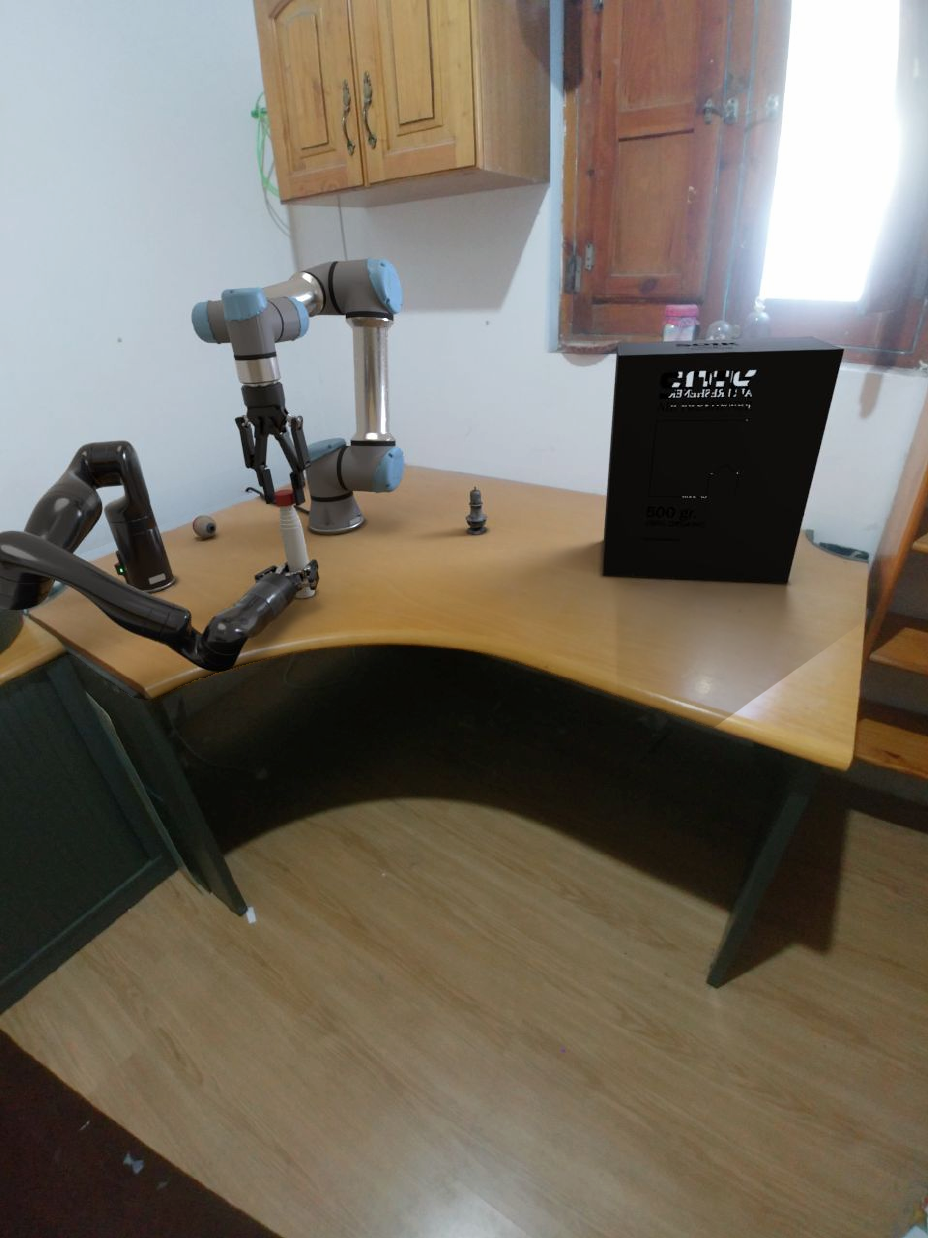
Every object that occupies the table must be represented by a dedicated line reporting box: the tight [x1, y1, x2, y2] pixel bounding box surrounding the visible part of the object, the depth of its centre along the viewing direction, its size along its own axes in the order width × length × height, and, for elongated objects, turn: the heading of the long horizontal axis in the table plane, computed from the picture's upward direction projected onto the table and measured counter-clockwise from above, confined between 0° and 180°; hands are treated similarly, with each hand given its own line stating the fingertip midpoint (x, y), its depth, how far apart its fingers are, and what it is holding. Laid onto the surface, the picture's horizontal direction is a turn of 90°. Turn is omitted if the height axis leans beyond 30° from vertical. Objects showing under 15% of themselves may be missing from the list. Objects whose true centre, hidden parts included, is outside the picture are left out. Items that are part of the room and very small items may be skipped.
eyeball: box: [192, 514, 217, 538], centre depth 165 cm, size 6×6×6 cm
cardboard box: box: [602, 336, 845, 585], centre depth 127 cm, size 38×20×45 cm, turn 78°
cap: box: [274, 488, 295, 508], centre depth 122 cm, size 4×4×2 cm
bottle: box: [278, 504, 316, 599], centre depth 128 cm, size 4×4×22 cm
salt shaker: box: [464, 486, 489, 535], centre depth 157 cm, size 6×6×12 cm
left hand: (305, 562), depth 133 cm, fingers closed on bottle, 4 cm apart
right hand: (285, 502), depth 123 cm, fingers open, 6 cm apart
